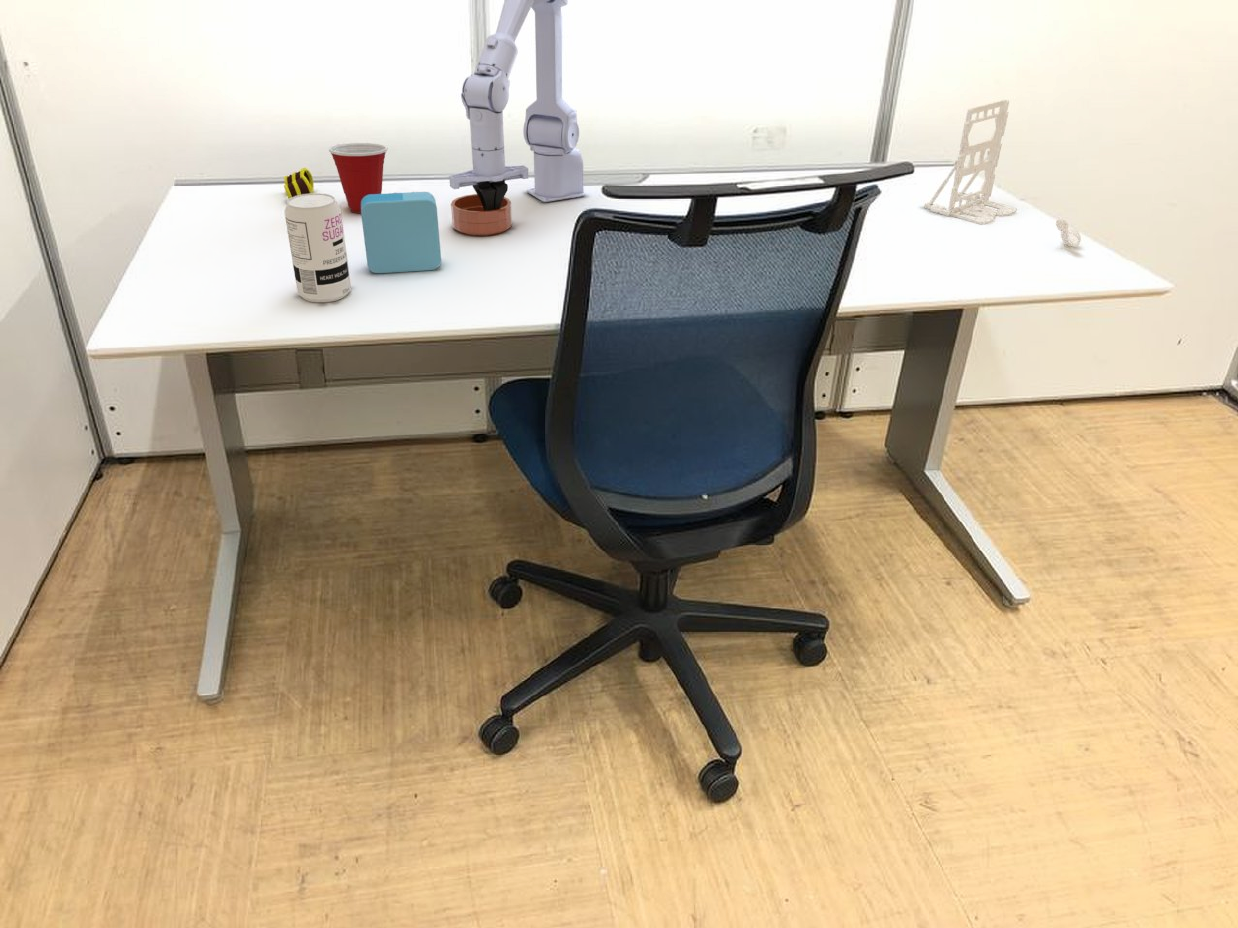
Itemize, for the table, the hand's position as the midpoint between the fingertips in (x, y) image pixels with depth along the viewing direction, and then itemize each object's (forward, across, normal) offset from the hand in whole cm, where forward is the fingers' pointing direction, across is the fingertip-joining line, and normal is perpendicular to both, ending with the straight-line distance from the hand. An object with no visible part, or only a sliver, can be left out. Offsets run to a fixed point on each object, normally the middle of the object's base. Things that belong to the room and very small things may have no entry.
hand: (491, 222), depth 185 cm
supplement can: (+2, -36, -15) cm, 39 cm away
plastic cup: (+2, -16, +23) cm, 28 cm away
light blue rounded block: (+2, -20, -10) cm, 23 cm away
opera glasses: (+2, -26, +36) cm, 44 cm away
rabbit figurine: (+2, +87, -57) cm, 104 cm away
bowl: (+2, -1, +2) cm, 3 cm away
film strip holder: (+2, +89, -33) cm, 95 cm away
